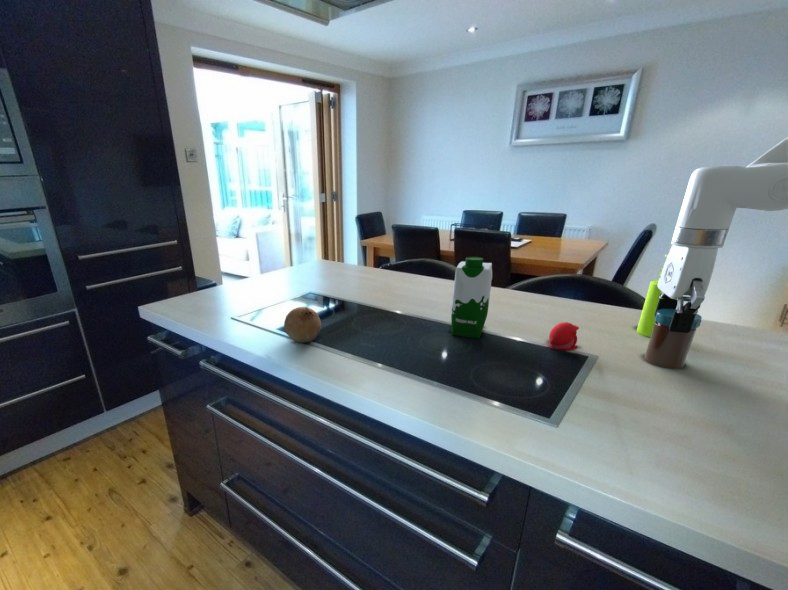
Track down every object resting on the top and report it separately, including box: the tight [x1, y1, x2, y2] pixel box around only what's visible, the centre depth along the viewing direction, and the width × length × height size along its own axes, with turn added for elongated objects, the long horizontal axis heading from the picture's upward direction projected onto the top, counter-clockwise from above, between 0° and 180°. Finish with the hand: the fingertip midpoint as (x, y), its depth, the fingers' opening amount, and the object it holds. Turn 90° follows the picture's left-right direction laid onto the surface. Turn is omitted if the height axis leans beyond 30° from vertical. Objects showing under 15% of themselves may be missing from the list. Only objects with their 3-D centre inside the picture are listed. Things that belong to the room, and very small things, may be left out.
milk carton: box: [450, 256, 493, 339], centre depth 99 cm, size 9×9×20 cm
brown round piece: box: [283, 306, 322, 344], centre depth 100 cm, size 10×9×10 cm
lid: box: [655, 308, 702, 329], centre depth 79 cm, size 7×7×2 cm
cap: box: [548, 321, 580, 352], centre depth 91 cm, size 8×6×6 cm
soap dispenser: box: [636, 253, 678, 338], centre depth 95 cm, size 6×7×20 cm
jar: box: [644, 322, 697, 369], centre depth 81 cm, size 7×7×11 cm
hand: (670, 323), depth 80 cm, fingers open, 8 cm apart
